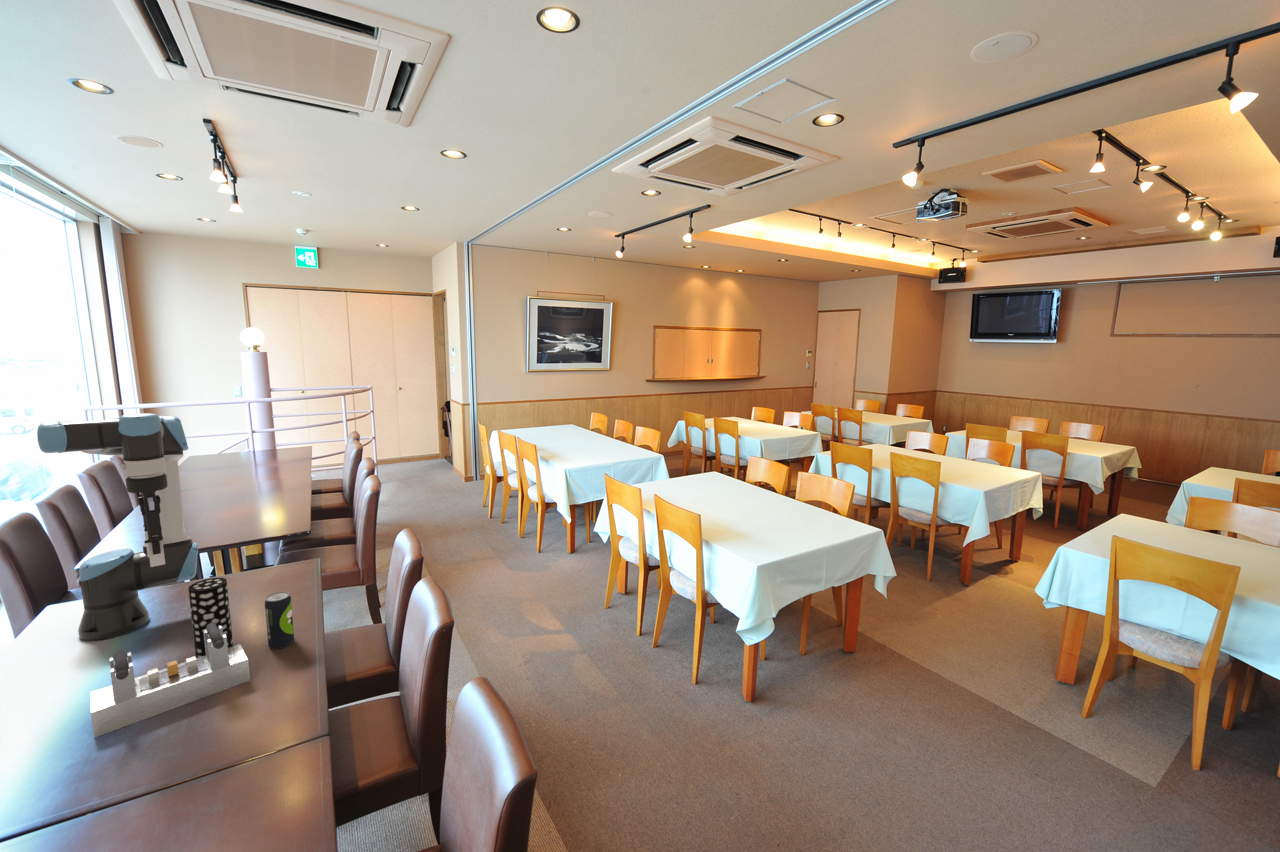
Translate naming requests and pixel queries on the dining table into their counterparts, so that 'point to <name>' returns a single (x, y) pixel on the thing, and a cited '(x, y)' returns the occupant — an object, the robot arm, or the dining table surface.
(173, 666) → the breaker paddle
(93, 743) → the dining table surface
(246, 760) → the dining table surface
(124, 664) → the dark grey bar handle
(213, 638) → the dark grey rod
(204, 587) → the spotted tube
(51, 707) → the dining table surface
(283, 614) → the beverage can
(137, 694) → the white parts holder tray
